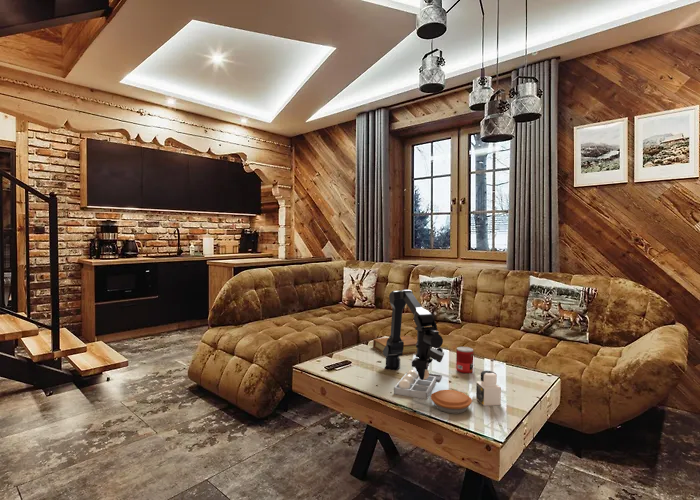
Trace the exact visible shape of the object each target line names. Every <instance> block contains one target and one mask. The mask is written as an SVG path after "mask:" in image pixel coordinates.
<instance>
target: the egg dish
mask: <svg viewBox="0 0 700 500" xmlns="http://www.w3.org/2000/svg"><path fill="white" fill-rule="evenodd" d="M429 376H434V377H436V382H441V380H442V378H443V375H442V374H436V373H429Z"/></svg>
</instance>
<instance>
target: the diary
mask: <svg viewBox="0 0 700 500" xmlns="http://www.w3.org/2000/svg"><path fill="white" fill-rule="evenodd" d="M388 338H389V337H382V338H381V337H380V338H374V339H372V343H373V345H372V347H373V349H375V348H376V349H375V350H377V351H378V350H379V352H380V351H381V352H380V353H382V354H383V350H384V348H385V346H386V343H387V340H388ZM400 338H401V340H402V341H403V342H404V346H403V347H404V350H403V354H402V355H407V354H409V355H410V354H417V348H416V345H417V339H415V338H413V337H411V336H409V335H404V336H400Z"/></svg>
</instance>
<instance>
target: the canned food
mask: <svg viewBox="0 0 700 500" xmlns="http://www.w3.org/2000/svg"><path fill="white" fill-rule="evenodd" d="M455 356H456V358H455V362H456V363H455V368H456V371H457V372H458V373H461V374H462V373H463V374H471V373H473V371H474V349H473V348H472V347H469V346H458V347H456V355H455Z"/></svg>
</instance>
